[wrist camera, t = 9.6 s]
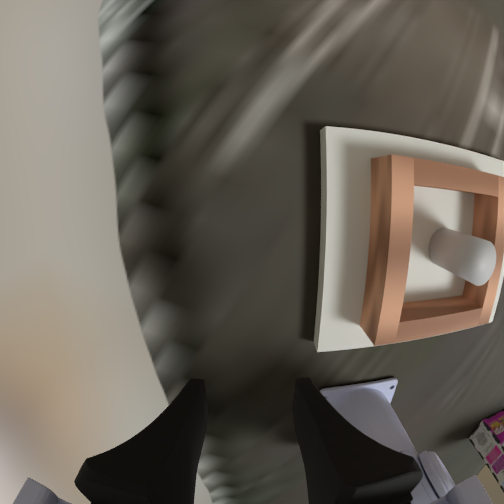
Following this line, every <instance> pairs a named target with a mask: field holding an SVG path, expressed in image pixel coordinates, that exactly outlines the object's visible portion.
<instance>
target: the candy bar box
mask: <svg viewBox="0 0 504 504" xmlns="http://www.w3.org/2000/svg"><path fill="white" fill-rule="evenodd" d="M469 440H470V441H471V443H472V444H473V446H474V447H475V448H476V450H477V451H478V453H479V454H480V456H481V457H482V459H483V460H484V462H485V463H486V465H487V466H488V468H489V469H490V471H491V473H492V474H493V476H494V477H495V479H496V480H497V482H498V484H499V485H500V487H501V489H502V490H503V492H504V410H502V411H500V412H498V413H496V414H494V415H492V416H490V417H488V418H486V419H483V420H482V421H481V422H480V423H479V425H478V426H477V427H476V429H475V430H474V431H473V433H472V434H471V436H470V437H469Z"/></svg>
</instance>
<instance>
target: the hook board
mask: <svg viewBox="0 0 504 504" xmlns="http://www.w3.org/2000/svg"><path fill="white" fill-rule="evenodd" d="M320 145H321V232H320V259H319V279H318V295H317V308H316V321H315V332H314V345H315V347H316V350H317V352H325V351H336V350H346V349H355V348H363V347H371V346H374V345H373V343H372V342H371V340H370V339H369V338H368V336H367V335H366V334H365V332H364V331H363V329H362V328H361V327H360V321H361V314H362V307H363V299H364V291H365V282H366V273H367V262H368V250H369V235H370V215H371V158H376V157H381V156H386V155H398V156H406V157H412V158H419V159H425V160H431V161H436V162H441V163H447V164H452V165H456V166H461V167H466V168H470V169H474V170H479V171H483V172H487V173H491V174H494V175H498V176H502V177H504V161H501V160H499V159H495V158H492V157H489V156H486V155H483V154H479V153H476V152H473V151H469V150H465V149H462V148H458V147H454V146H450V145H446V144H442V143H437V142H433V141H428V140H423V139H418V138H413V137H408V136H402V135H396V134H390V133H383V132H376V131H369V130H361V129H352V128H342V127H330V126H325V127H324V128H322V129H321V130H320ZM473 215H474V194H473V193H466V192H460V191H453V190H445V189H438V188H429V187H421V186H414V206H413V225H412V238H411V249H410V258H409V267H408V274H407V281H406V288H405V294H404V300H403V303H404V302H413V301H422V300H430V299H438V298H446V297H453V296H460V295H463V290H464V285H465V280H467V281H469V282H471V283H472V284H474V285H476V286H481V285H483V284H485V283H486V282H487V281H488V280H489V279H490V277H491V275H492V273H493V271H494V268H495V264H496V250H495V247H494V245H493V244H492V242H490V241H487V240H484V239H481V238H478V237H475V236H472V229H473ZM503 276H504V256H503V262H502V268H501V273H500V279H499V283H498V288H497V292H496V297H495V301H494V305H493V309H492V312H491V316H490V319H489V323H490V322H492V321H493V318H494V314H495V311H496V307H497V303H498V299H499V295H500V291H501V286H502V281H503ZM482 325H483V324H482ZM478 326H479V325H478ZM458 331H459V330H458ZM454 332H455V331H454ZM445 334H446V333H445ZM440 335H441V334H440ZM436 336H437V335H436ZM431 337H432V336H431ZM426 338H427V337H426ZM420 339H421V338H420ZM415 340H416V339H415ZM409 341H410V340H409ZM404 342H405V341H404ZM397 343H398V342H397ZM391 344H392V343H391ZM384 345H386V344H384ZM377 346H379V345H377Z"/></svg>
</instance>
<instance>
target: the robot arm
mask: <svg viewBox="0 0 504 504" xmlns="http://www.w3.org/2000/svg"><path fill="white" fill-rule="evenodd" d="M397 383H398V381H397V379H396V378H389V379H384V380H379V381H373V382H367V383H361V384H354V385H347V386H339V387H331V388H324V389H322V390H320V391H319V389H318V388H317V387H316V385H315V384H314V383H313V381H312V380H311V379H310V378H298V379H296V383H295V393H294V403H293V415H294V424H295V430H296V434H297V438H298V442H299V446H300V450H301V454H302V458H303V462H304V466H305V472H306V480H307V488H308V498H309V504H493V503H492V501H491V499H490V497H489V496H488V494H487V493H486V491H485V489H484V487H483V486H482V484H481V482H480V481H479V479H478V477H477V476H476V475H473V476H471V477H470V478H468V479H466V480H465V481H463V482H461V483H459V484H457V485H455V484H454V482H453V480H452V478H451V476H450V475H449V473H448V471H447V470H446V468H445V466H444V465H443V463H442V462H441V460H440V459H439V457H438V456H437V454H436V453H435V452H433V451H429V452H428V451H427V450H425V451H423V452H422V453H420V455H419V454H418V453H417V452H416V450H415V448H414V446H413V444H412V442H411V440H410V439H409V437H408V435H407V433H406V431H405V430H404V428H403V426H402V424H401V422H400V421H399V419H398V417H397V415H396V413H395V412H394V410H393V408H392V406H391V405H390V403H391V400H392V397H393V394H394V391H395V389H396V386H397ZM324 396H326V397H324ZM207 421H208V404H207V397H206V391H205V384H204V380H200V379H190V380H189V381H188V382H187V384H186V385H185V386H184V388H183V389H182V390H181V392H180V393H179V394H178V395H177V397H176V398H175V399H174V400H173V401H172V403H171V404H170V405H169V406H168V407H167V408H166V409H165V410H164V411H163V412H162V413H161V414H160V415H159V416H158V417H157V418H156V419H155V420H154V421H153V422H152V423H151V424H150V425H148V426H147V427H146V428H145V429H143V430H142V431H141V432H139V433H138V434H137V435H135V436H134V437H132V438H131V439H129V440H128V441H126V442H124V443H122V444H121V445H119V446H117V447H115V448H113V449H111V450H109V451H106V452H104V453H101V454H99V455H96V456H93V457H90V458H87V459H86V460H85V462H84V463H83V465H82V467H81V469H80V471H79V473H78V475H77V477H76V479H75V481H74V482H75V485H76V487H77V488H78V489H79V490H80V492H81V493H82V494H83V495H84V496H85V497H86V498H87V499H88V500H89V501H90V502H91V504H194V493H195V483H196V474H197V468H198V463H199V459H200V454H201V450H202V446H203V442H204V438H205V433H206V429H207ZM13 504H71V503H68V502H66V501H64V500H62V499H60V498H58V497H57V496H56V495H55V494H54V493H53V492H52V491H51V490H50V489H48V488H47V487H45V486H44V485H42V484H40V483H38V482H36V481H34V480H33V479H31V478H27V480H26V482H25V484H24V485H23V487H22V489H21V490H20V492H19V494H18V496H17V497H16V499H15V501H14V503H13Z"/></svg>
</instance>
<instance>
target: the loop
mask: <svg viewBox="0 0 504 504" xmlns="http://www.w3.org/2000/svg"><path fill="white" fill-rule="evenodd" d="M414 186H421V187H429V188H438V189H445V190H453V191H460V192H466V193H473V194H474V215H473V229H472V236H475V237H478V238H481V239H484V240H487V241H490V242H492V244H493V245H494V247H495V250H496V264H495V268H494V271H493V273H492V275H491V277H490V279H489V280H488V281H487V282H486V283H485V284H483V285H481V286H476V285H474V284H472V283H471V282H469V281H467V280H465V285H464V290H463V295H460V296H453V297H446V298H438V299H430V300H422V301H413V302H404V303H403V300H404V294H405V288H406V281H407V274H408V267H409V258H410V249H411V238H412V225H413V206H414ZM503 256H504V177H502V176H498V175H494V174H491V173H487V172H483V171H479V170H474V169H470V168H466V167H461V166H456V165H452V164H447V163H441V162H436V161H431V160H425V159H419V158H412V157H406V156H398V155H386V156H381V157H376V158H371V215H370V235H369V250H368V262H367V273H366V282H365V291H364V299H363V307H362V314H361V321H360V327H361V328H362V329H363V331H364V332H365V334H366V335H367V336H368V338H369V339H370V340H371V342H372V343H373V345H374V346H377V345H384V344H391V343H397V342H404V341H409V340H415V339H420V338H426V337H431V336H436V335H440V334H445V333H450V332H454V331H458V330H463V329H467V328H471V327H475V326H478V325H482V324H486V323H489V319H490V316H491V312H492V309H493V305H494V301H495V297H496V292H497V288H498V283H499V279H500V273H501V268H502V262H503Z"/></svg>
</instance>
